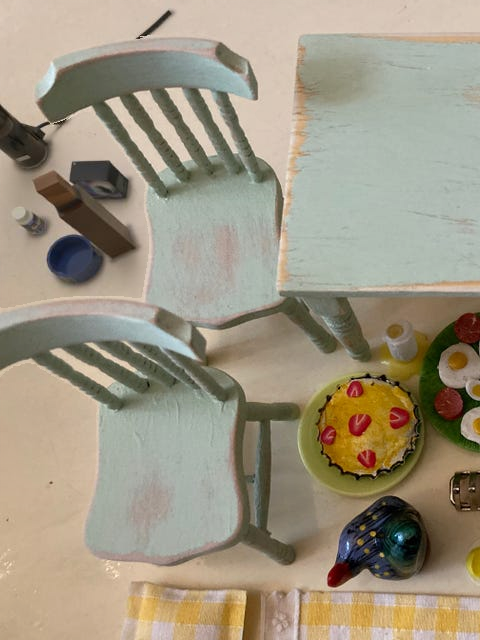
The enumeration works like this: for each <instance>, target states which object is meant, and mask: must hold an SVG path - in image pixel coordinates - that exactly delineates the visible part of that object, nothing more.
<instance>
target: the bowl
mask: <svg viewBox="0 0 480 640" xmlns="http://www.w3.org/2000/svg"><path fill="white" fill-rule="evenodd" d="M46 253H47V254H46V264H47V268H48V270H49V271H50V272H51V273H53V274H54V275H55V276H57V277H59V278H60V279H61V280H63V281H64V282H66V283H70V284H81V283H84V282H88V281H89V280H90V279H92V278H94V276H96V274H97V273H98V272H99V270H100V269H101V266H102V262H103V256H102V251H101V249H99V248H98V247H97V246H95V245H94V244H93V243H92V242H90V241H89V240H88V239H86V238H85V237H84V236H83V235H81V234H77V233H73V234H72V233H71V234H67V235H64V236H61V237H59V238H58V239H56V240H55V241H54V242H53V244H51V245H50V247H49V248H48V251H47V252H46Z"/></svg>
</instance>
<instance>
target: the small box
mask: <svg viewBox="0 0 480 640" xmlns="http://www.w3.org/2000/svg"><path fill="white" fill-rule="evenodd" d="M70 164H71V166H70V172H69V179H68V181H69V182H70V183H71V184H72V185H75V184H77V183H78V184H79V185H80V186H81V187H82V188H83V189H84V190H86V191H87V192H88V193H89V194H90V195H91V196H92V197H93V198H95V199H96V200H112V199H113V200H114V199H126V198H127V193H128V187H129V179H128V178H127V177H126V176H125V175H124V174H123V173H122V172H121V171H120V170H119V169H118V168H117V167H116V166H115V165H114V164H113V163H112V162H111V160H108V159H107V160H75V161H71V163H70Z"/></svg>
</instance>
